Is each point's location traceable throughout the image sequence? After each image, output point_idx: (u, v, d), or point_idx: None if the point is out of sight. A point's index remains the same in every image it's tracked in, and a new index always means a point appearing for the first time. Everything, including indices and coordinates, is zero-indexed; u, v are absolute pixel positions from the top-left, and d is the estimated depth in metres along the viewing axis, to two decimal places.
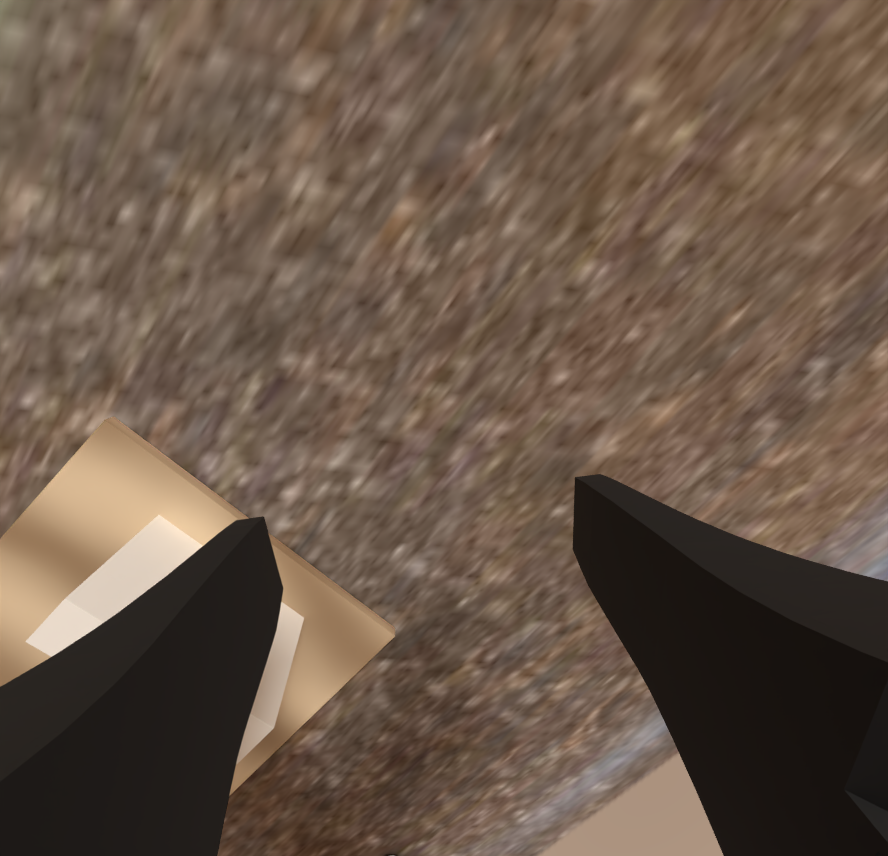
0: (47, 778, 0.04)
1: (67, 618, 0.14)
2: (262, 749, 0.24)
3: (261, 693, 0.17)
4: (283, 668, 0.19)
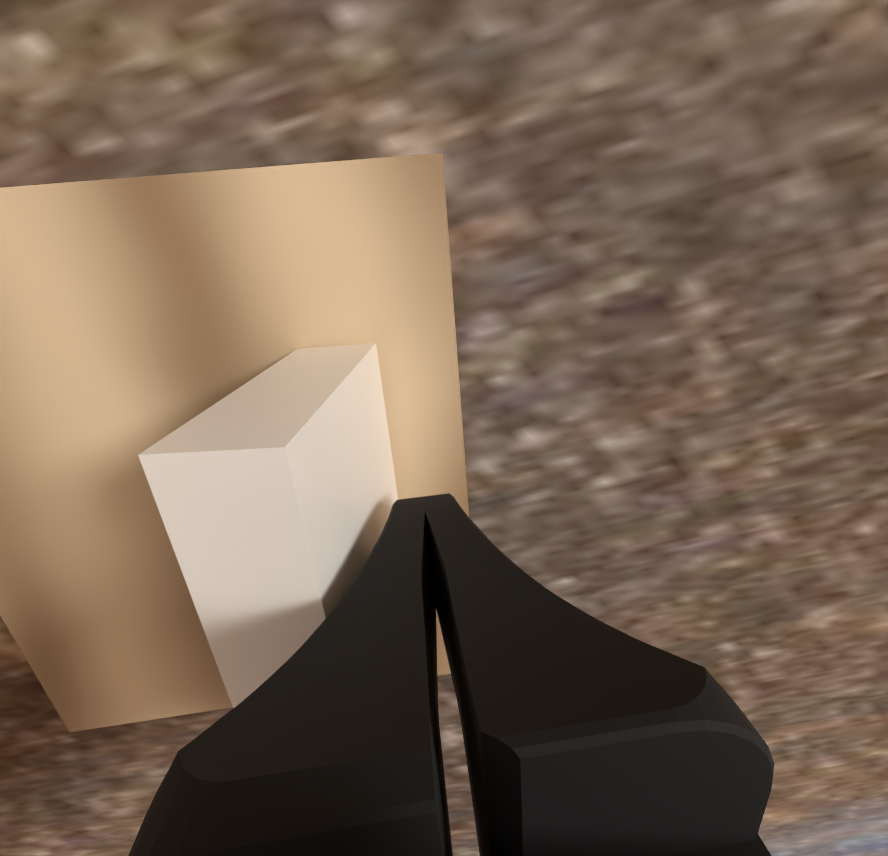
0: (431, 717, 0.04)
1: (252, 480, 0.06)
2: (211, 698, 0.16)
3: None
4: None
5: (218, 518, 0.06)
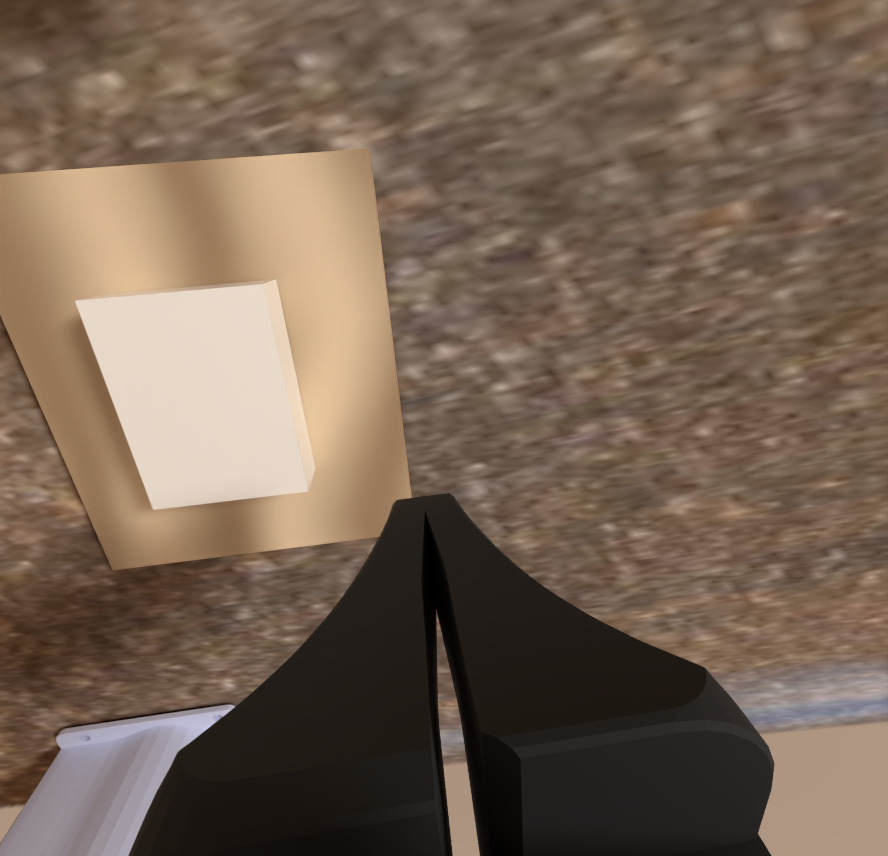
0: (431, 717, 0.04)
1: None
2: (216, 546, 0.21)
3: (171, 487, 0.18)
4: (218, 495, 0.18)
5: None
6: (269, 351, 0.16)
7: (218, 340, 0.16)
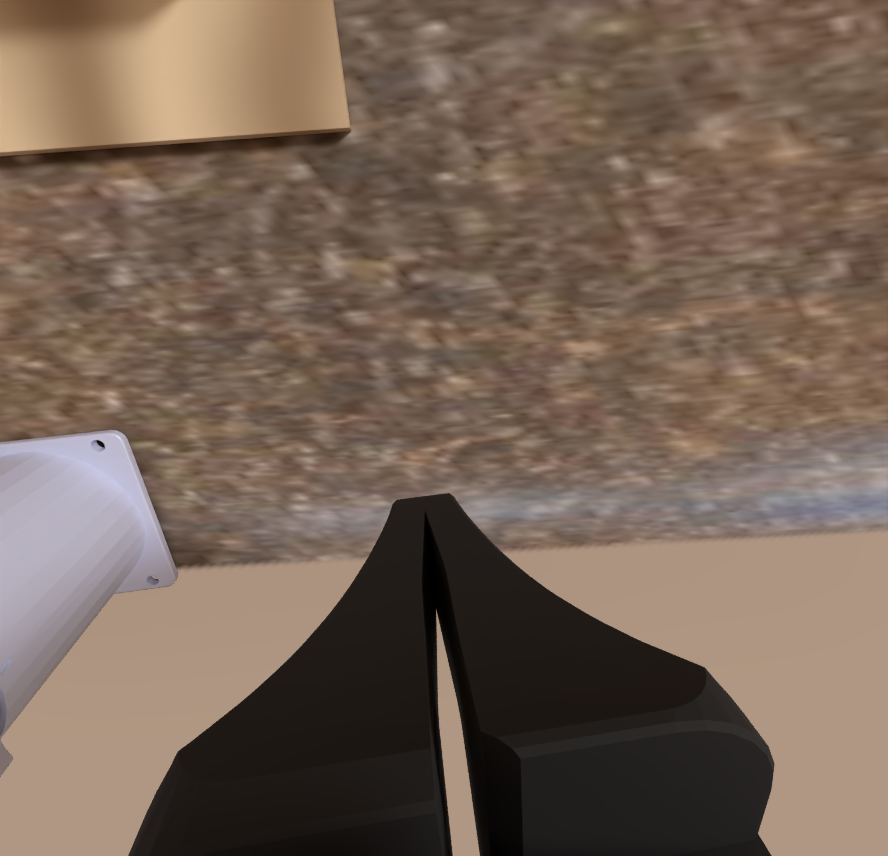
0: (431, 717, 0.04)
1: None
2: (62, 127, 0.15)
3: None
4: None
5: None
6: None
7: None
